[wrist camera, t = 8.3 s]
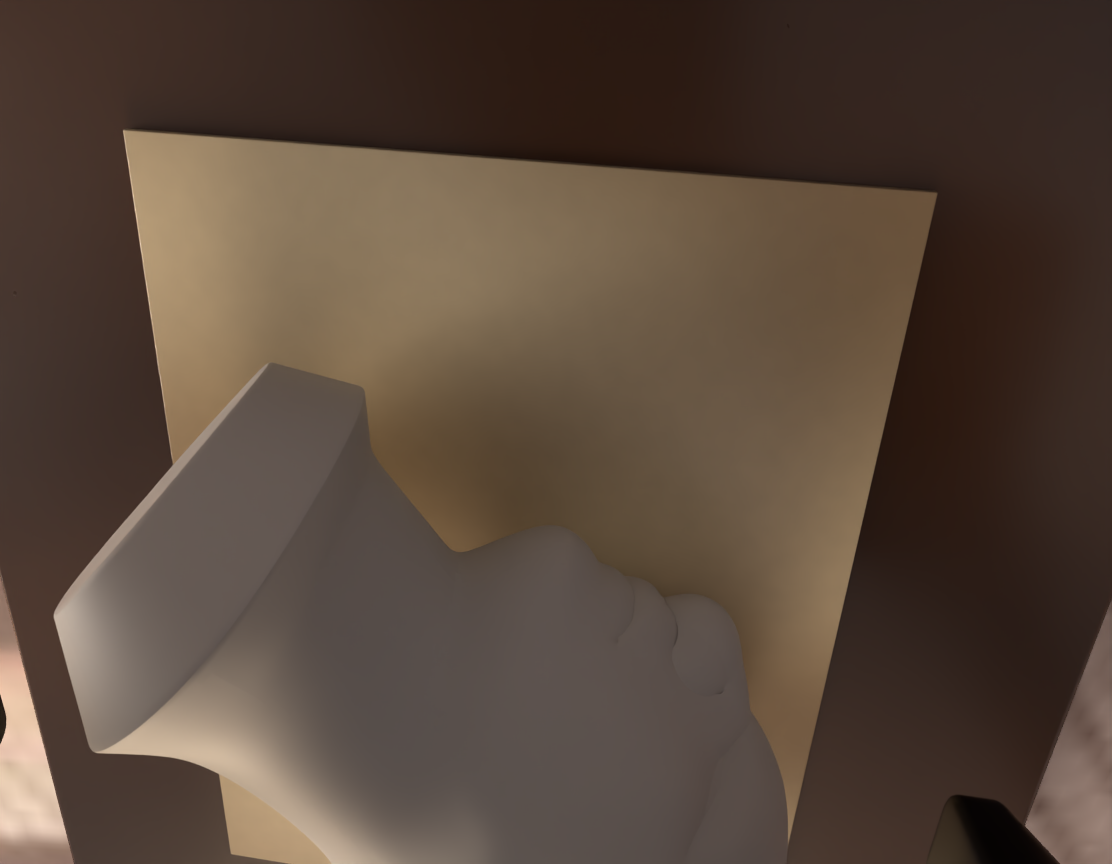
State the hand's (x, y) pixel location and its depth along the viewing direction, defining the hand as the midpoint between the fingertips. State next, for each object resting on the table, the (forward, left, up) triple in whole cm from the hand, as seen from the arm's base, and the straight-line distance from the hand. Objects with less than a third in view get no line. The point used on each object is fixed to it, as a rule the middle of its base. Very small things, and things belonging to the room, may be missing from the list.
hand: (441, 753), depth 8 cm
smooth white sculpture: (0, 0, -3) cm, 3 cm away
